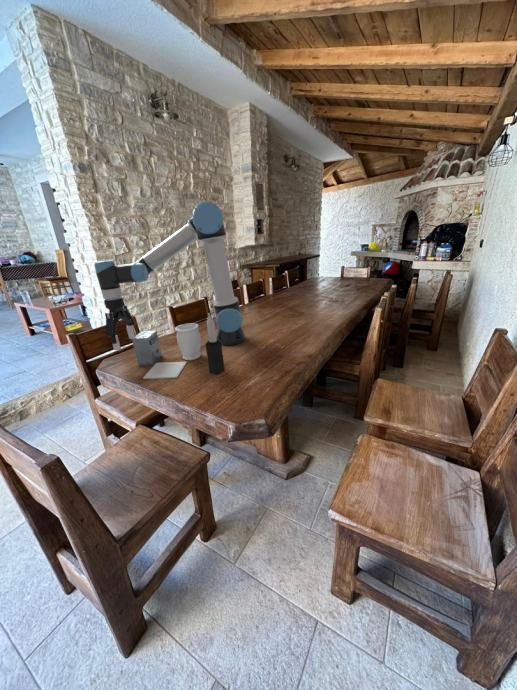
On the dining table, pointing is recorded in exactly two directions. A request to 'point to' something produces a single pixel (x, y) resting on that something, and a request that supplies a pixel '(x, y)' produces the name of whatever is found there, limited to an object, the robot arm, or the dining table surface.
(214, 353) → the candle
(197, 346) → the jar
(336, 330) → the dining table surface
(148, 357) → the block
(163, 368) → the mat
